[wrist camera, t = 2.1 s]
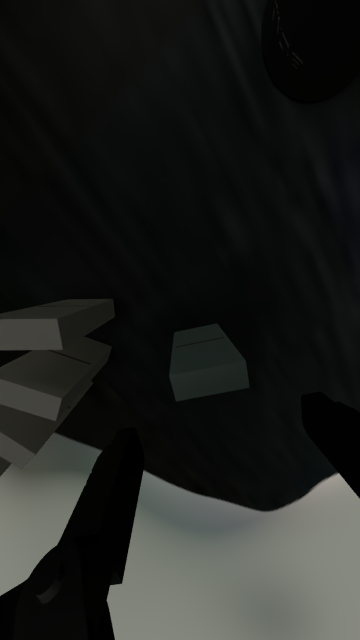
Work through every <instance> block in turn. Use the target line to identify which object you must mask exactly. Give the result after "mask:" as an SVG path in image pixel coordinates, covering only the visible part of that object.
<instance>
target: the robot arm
mask: <svg viewBox="0 0 360 640" xmlns="http://www.w3.org/2000/svg"><path fill="white" fill-rule="evenodd" d="M262 45H263V52H264V58H265V61H266V64H267V67H268V71H269V72H270V74H271V76H272V78H273V80H274V81H275V83H276V84H277V85H278V86H279V87H280V88H281V90H282V91H283V92H285V93H286V94H288V95H289V96H291V97H293V98H295V99H299V100H302V101H318V100H323V99H327V98H329V97H331V96H333V95H335V94H337V93H339V92H340V91H341V90H342V89H344V88H345V87H346V86H347V85H349V84H350V83H351V82H352V81H353V79H354V78H355V77H356V76H357V75H358V74H359V73H360V0H268V1H267V4H266V8H265V13H264V19H263V25H262ZM301 406H302V421H303V425H304V428H305V430H306V432H307V434H308V435H309V437H310V438H311V439H312V441H313V442H314V443H315V444H316V446H317V447H318V448H319V449H320V450H321V452H322V453H323V454H324V455H325V457H326V458H327V459H328V460H329V461H330V463H331V464H332V465H333V466H334V468H335V469H336V470H337V471H338V473H339V474H340V475H341V476H342V477H343V478H344V480H345V481H346V482H347V484H348V485H349V486H350V487H351V488H352V490H353V491H354V492H355V493H356V494H357V496H358V497H359V498H360V413H359V412H358V411H357V410H355V409H353V408H351V407H349V406H347V405H345V404H343V403H340V402H333V401H332V400H331V399H330V398H328V397H327V396H326V395H325V394H323V393H322V392H316V393H310V394H305V395H302V396H301ZM143 470H144V452H143V449H142V446H141V443H140V440H139V437H138V434H137V431H136V429H135V428H134V427H133V428H128V429H123V430H118V431H117V433H116V435H115V438H114V440H113V443H112V444H111V445H107V446H106V447H105V449H104V450H103V451H102V452H101V454H100V455H99V457H98V458H97V460H96V462H95V464H94V467H93V469H92V473H91V474H90V475H89V478H88V480H87V483H86V486H84V489H83V491H82V493H81V495H80V497H79V500H78V502H77V504H76V506H75V508H74V510H73V513H72V515H71V517H70V519H69V521H68V524H67V526H66V528H65V530H64V532H63V535H62V537H61V539H60V541H59V543H58V545H57V546H55V547H54V548H53V549H51V550H50V551H49V552H48V553H47V554H46V555H45V556H44V557H43V558H42V559H41V560H40V562H39V563H38V564H37V566H36V567H35V568H34V570H33V571H32V573H31V575H30V576H29V578H28V579H27V580H26V581H24V582H23V583H21V584H19V585H18V586H16V587H14V588H13V589H11V590H9V591H8V592H6V593H5V594H3V595H1V596H0V640H115V638H114V633H113V627H112V623H111V617H110V612H109V607H108V603H107V596H108V592H109V587H110V585H115V584H122V580H123V576H124V570H125V564H126V560H127V554H128V549H129V543H130V539H131V533H132V528H133V523H134V517H135V511H136V507H137V501H138V496H139V491H140V486H141V480H142V475H143Z"/></svg>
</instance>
